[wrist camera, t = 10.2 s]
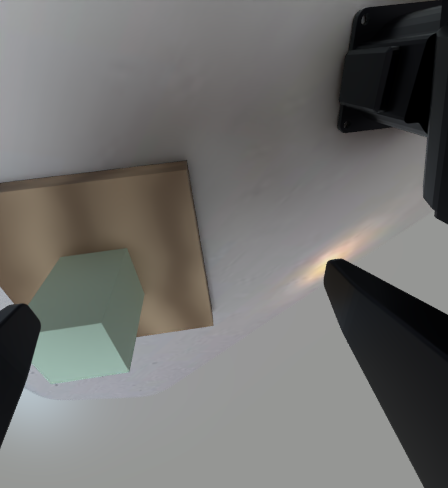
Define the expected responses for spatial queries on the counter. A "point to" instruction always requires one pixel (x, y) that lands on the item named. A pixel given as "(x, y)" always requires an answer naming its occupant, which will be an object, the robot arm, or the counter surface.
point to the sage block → (87, 316)
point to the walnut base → (111, 236)
